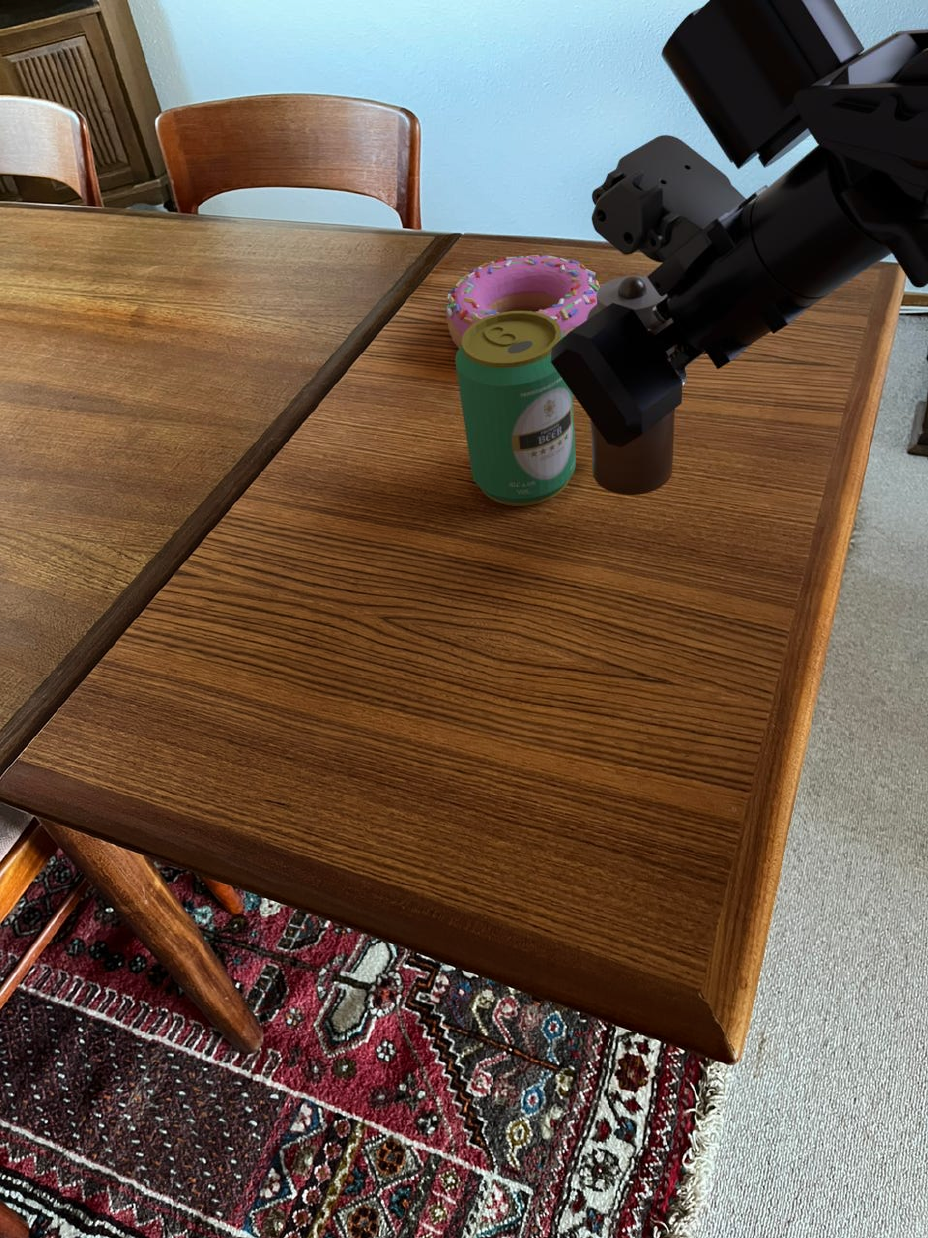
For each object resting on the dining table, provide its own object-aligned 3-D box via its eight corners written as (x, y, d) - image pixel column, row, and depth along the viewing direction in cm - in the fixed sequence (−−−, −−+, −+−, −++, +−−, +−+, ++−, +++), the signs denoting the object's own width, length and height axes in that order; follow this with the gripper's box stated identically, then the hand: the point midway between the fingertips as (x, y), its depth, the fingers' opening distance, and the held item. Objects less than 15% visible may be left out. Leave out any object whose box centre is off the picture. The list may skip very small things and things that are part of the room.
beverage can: (512, 524, 68) (496, 382, 60) (453, 474, 73) (430, 336, 65) (597, 478, 71) (594, 335, 62) (534, 432, 76) (523, 294, 67)
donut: (624, 305, 88) (624, 253, 85) (573, 387, 80) (571, 334, 76) (485, 291, 93) (479, 242, 90) (424, 367, 85) (415, 316, 81)
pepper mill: (670, 445, 63) (676, 251, 54) (674, 493, 60) (682, 296, 50) (592, 449, 64) (585, 259, 54) (592, 497, 61) (585, 303, 51)
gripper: (809, 32, 47) (632, 209, 61) (570, 168, 39) (430, 336, 53) (928, 219, 48) (728, 351, 62) (720, 388, 40) (544, 495, 54)
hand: (614, 377), depth 58 cm, fingers closed on pepper mill, 5 cm apart
